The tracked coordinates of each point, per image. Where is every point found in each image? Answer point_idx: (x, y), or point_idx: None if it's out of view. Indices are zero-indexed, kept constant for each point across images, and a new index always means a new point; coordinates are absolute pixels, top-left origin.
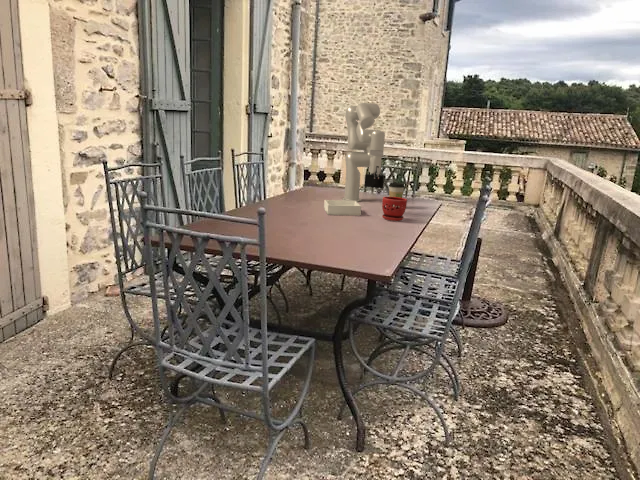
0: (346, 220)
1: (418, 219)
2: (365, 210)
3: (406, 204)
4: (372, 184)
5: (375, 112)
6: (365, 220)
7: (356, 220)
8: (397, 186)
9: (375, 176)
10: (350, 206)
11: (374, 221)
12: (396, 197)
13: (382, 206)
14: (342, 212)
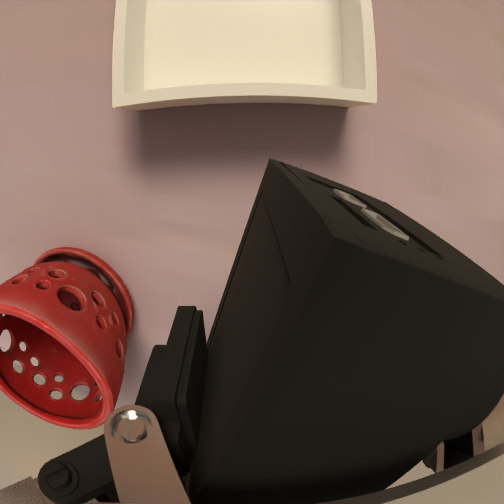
0: (17, 40)
1: (134, 399)
2: (341, 181)
3: (61, 403)
4: (225, 314)
5: None
6: (23, 138)
7: (18, 89)
8: (434, 451)
9: (84, 465)
10: (115, 24)
11: (14, 187)
12: (103, 406)
13: (38, 270)
14: None
